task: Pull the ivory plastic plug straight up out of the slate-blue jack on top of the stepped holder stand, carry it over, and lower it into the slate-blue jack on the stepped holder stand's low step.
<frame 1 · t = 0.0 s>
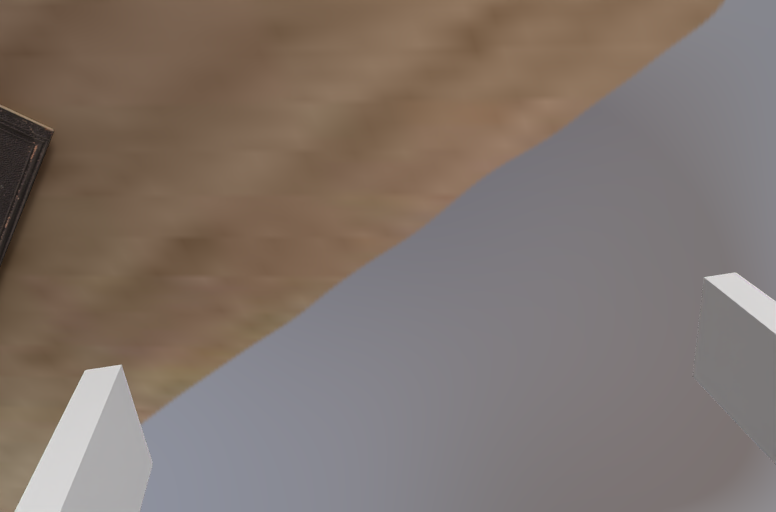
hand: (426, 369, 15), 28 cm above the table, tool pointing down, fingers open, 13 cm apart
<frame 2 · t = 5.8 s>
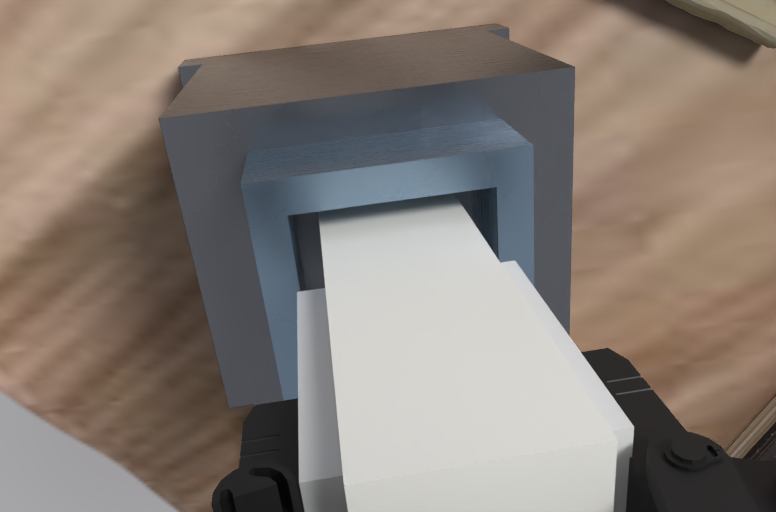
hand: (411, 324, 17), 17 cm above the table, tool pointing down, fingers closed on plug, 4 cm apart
plug: (388, 250, 21), point 12 cm above the table, touching stepped holder stand, gripper
stepped holder stand: (372, 279, 35), on the table
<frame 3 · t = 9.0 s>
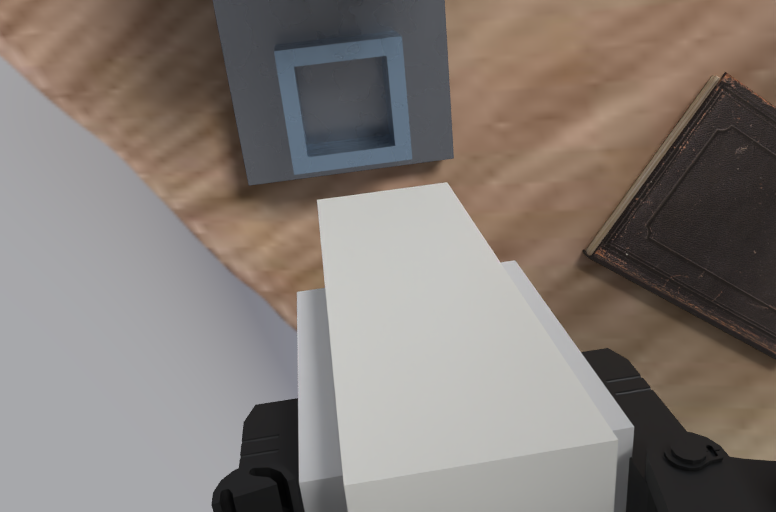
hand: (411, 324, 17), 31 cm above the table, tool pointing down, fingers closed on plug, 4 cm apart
hardcover book: (744, 226, 54), on the table
plug: (388, 250, 21), point 26 cm above the table, touching gripper
when the fingers open (8 cm above the table, at t = 12.2 s): plug drops 1 cm, resting on stepped holder stand.
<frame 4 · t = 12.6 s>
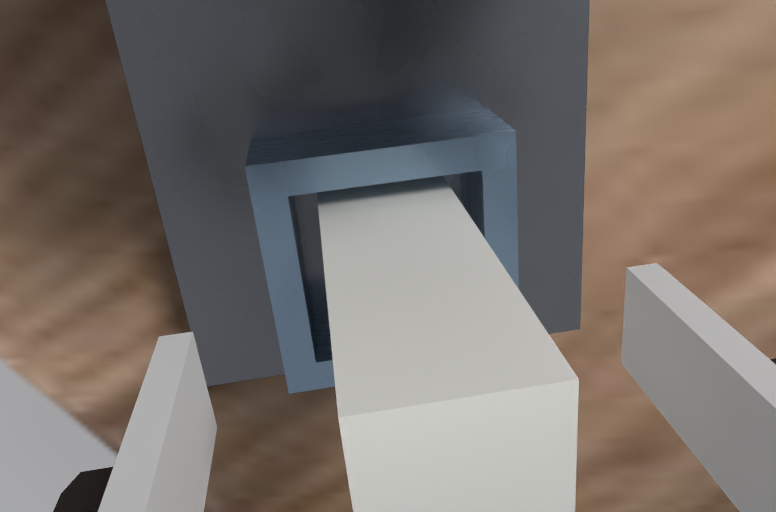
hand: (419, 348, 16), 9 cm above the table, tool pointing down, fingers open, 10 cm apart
plug: (383, 232, 23), point 2 cm above the table, touching stepped holder stand
stepped holder stand: (353, 8, 21), on the table
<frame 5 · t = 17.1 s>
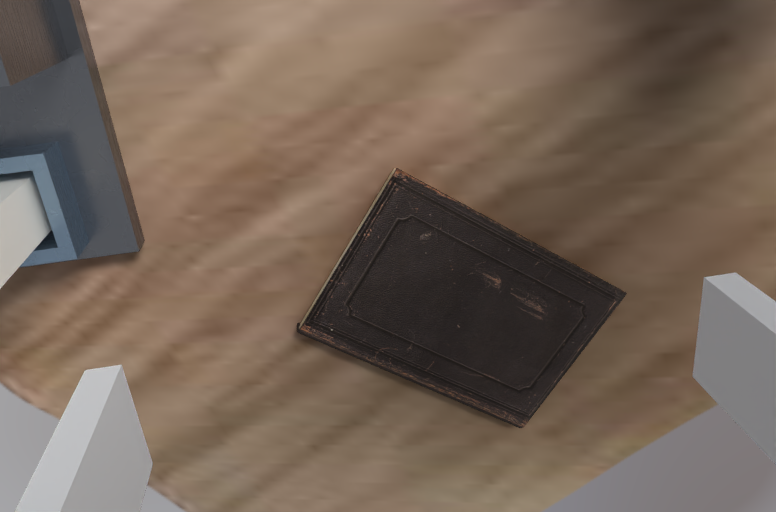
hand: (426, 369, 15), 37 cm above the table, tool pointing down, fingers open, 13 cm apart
hardcover book: (458, 300, 58), on the table
plug: (19, 200, 47), point 2 cm above the table, touching stepped holder stand
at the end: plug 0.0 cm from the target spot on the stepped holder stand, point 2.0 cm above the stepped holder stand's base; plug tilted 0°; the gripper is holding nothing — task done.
